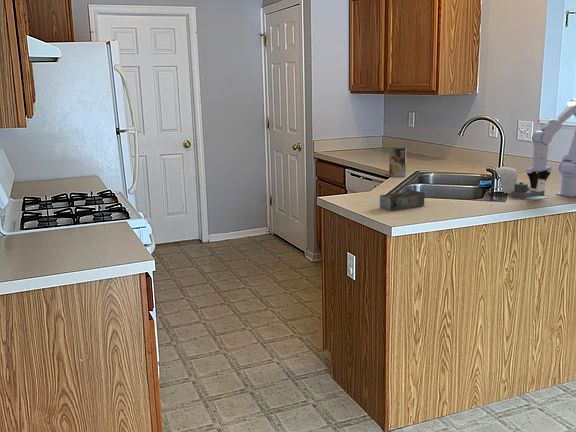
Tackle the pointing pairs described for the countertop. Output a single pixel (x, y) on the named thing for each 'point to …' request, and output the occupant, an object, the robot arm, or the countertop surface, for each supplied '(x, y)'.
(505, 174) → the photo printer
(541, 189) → the block
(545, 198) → the pad
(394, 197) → the beverage carton
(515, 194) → the power strip
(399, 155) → the coffee box
